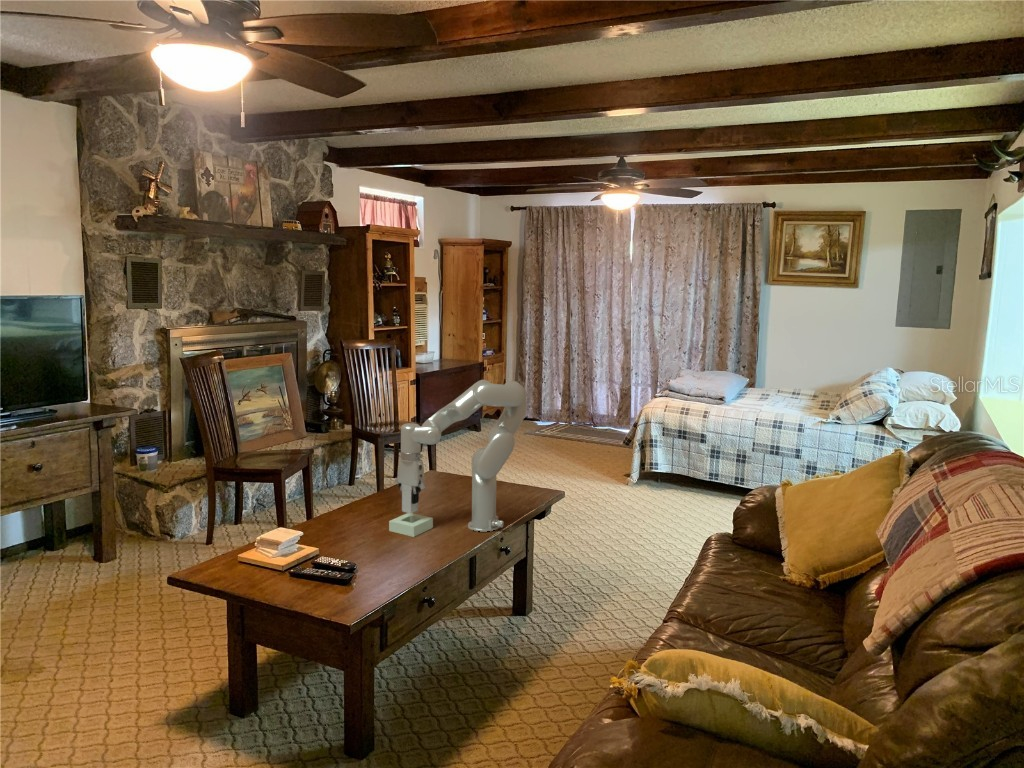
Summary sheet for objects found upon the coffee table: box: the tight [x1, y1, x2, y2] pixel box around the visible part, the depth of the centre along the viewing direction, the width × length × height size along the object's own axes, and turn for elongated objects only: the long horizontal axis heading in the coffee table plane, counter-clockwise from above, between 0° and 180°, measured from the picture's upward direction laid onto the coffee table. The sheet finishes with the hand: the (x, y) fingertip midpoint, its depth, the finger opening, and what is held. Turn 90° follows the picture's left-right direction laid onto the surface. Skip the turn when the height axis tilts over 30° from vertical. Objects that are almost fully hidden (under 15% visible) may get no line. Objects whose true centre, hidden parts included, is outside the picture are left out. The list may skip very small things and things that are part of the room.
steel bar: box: [401, 484, 419, 514], centre depth 278 cm, size 4×4×11 cm
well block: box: [388, 512, 434, 538], centre depth 279 cm, size 12×12×4 cm
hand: (410, 501), depth 278 cm, fingers closed on steel bar, 4 cm apart
